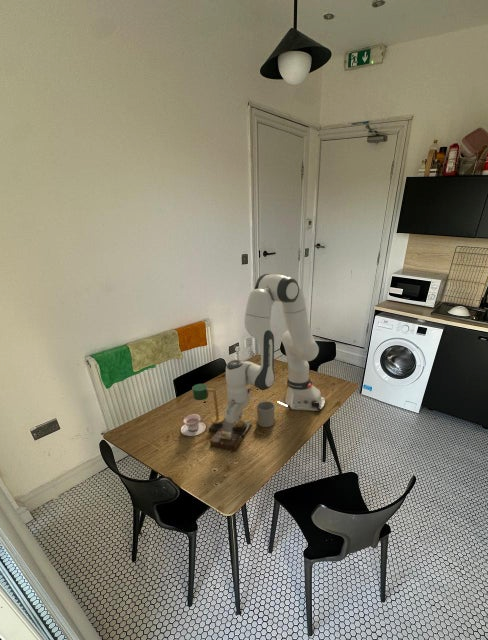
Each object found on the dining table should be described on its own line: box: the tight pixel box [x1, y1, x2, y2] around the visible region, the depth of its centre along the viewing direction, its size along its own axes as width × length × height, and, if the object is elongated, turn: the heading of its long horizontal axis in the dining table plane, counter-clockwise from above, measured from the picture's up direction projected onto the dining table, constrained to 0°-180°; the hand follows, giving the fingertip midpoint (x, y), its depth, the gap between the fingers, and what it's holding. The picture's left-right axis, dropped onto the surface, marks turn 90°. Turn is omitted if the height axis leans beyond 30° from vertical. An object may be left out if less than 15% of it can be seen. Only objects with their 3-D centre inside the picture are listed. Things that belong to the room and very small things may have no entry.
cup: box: [256, 400, 275, 428], centre depth 160 cm, size 8×8×10 cm
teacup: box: [180, 413, 207, 437], centre depth 155 cm, size 12×12×6 cm
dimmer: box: [209, 431, 243, 452], centre depth 147 cm, size 12×9×3 cm
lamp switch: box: [236, 419, 244, 427], centre depth 154 cm, size 4×4×2 cm
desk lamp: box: [191, 383, 225, 424], centre depth 154 cm, size 14×7×17 cm, turn 74°
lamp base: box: [208, 417, 252, 439], centre depth 157 cm, size 18×10×4 cm, turn 74°
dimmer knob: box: [220, 431, 232, 440], centre depth 146 cm, size 5×2×3 cm, turn 73°
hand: (238, 420), depth 153 cm, fingers closed
